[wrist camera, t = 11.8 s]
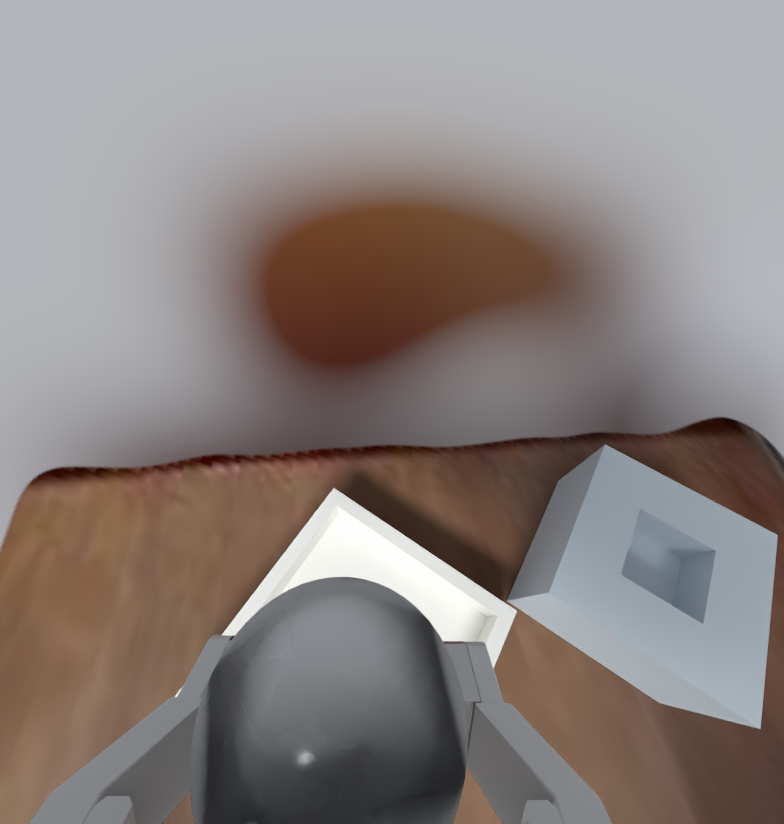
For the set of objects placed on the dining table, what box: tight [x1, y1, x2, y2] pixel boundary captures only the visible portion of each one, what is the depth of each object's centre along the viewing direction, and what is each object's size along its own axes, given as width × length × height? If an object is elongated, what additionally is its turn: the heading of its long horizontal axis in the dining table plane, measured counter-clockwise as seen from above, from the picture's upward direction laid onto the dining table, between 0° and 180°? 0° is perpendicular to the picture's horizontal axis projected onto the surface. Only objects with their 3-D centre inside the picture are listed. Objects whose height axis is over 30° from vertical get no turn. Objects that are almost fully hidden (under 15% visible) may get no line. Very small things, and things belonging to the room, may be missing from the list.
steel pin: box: [190, 577, 468, 824], centre depth 10 cm, size 4×4×10 cm
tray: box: [175, 488, 517, 697], centre depth 26 cm, size 16×16×4 cm
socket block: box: [507, 445, 778, 729], centre depth 27 cm, size 12×12×8 cm
